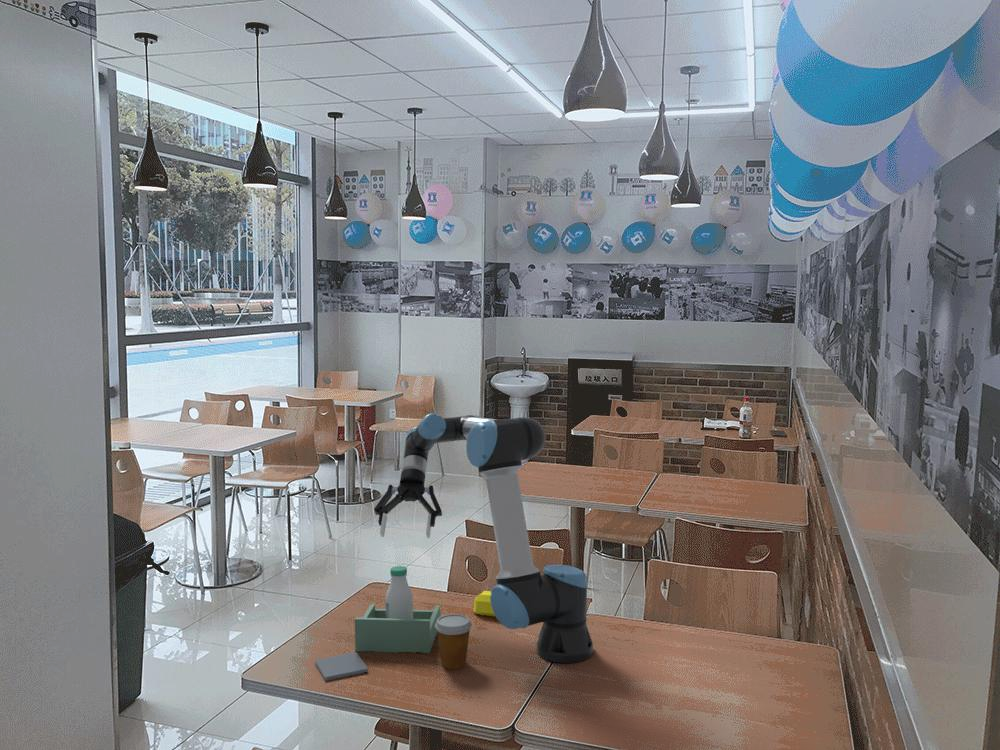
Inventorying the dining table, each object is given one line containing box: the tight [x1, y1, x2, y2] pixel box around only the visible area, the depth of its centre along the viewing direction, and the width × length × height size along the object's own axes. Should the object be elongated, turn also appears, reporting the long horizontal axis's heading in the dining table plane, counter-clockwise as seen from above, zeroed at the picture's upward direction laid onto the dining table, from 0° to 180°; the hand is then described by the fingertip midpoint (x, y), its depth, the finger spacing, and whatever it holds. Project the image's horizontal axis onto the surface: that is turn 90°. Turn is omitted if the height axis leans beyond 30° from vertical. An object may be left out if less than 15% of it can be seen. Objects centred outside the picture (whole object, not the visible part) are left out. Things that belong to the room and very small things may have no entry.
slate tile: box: [314, 651, 369, 682], centre depth 216 cm, size 11×11×1 cm
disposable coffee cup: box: [435, 613, 472, 670], centre depth 217 cm, size 10×10×12 cm
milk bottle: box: [385, 565, 414, 619], centre depth 234 cm, size 8×8×20 cm
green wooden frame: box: [354, 603, 442, 654], centre depth 235 cm, size 20×20×9 cm
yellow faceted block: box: [472, 590, 496, 618], centre depth 251 cm, size 18×7×8 cm
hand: (404, 535), depth 244 cm, fingers open, 13 cm apart
